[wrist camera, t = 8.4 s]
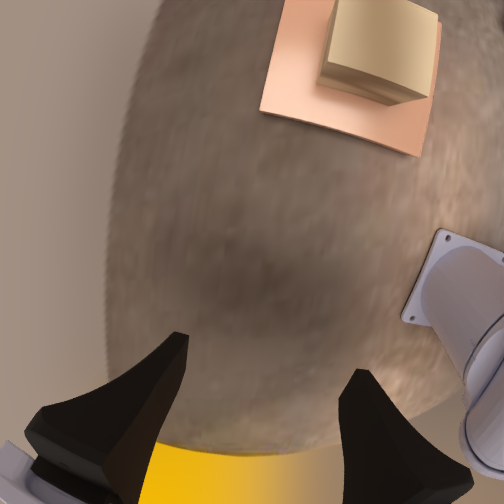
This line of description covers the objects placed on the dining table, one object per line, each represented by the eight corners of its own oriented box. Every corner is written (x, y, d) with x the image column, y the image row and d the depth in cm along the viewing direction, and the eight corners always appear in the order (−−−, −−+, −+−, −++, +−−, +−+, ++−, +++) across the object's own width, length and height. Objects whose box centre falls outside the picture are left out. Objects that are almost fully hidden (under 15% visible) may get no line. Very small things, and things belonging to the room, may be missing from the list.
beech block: (399, 43, 13) (437, 14, 8) (389, 106, 14) (428, 97, 9) (328, 19, 13) (342, -22, 8) (315, 84, 15) (327, 61, 10)
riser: (429, 31, 13) (441, 23, 11) (407, 155, 17) (419, 158, 15) (292, -14, 14) (292, -27, 12) (262, 113, 17) (259, 110, 16)
